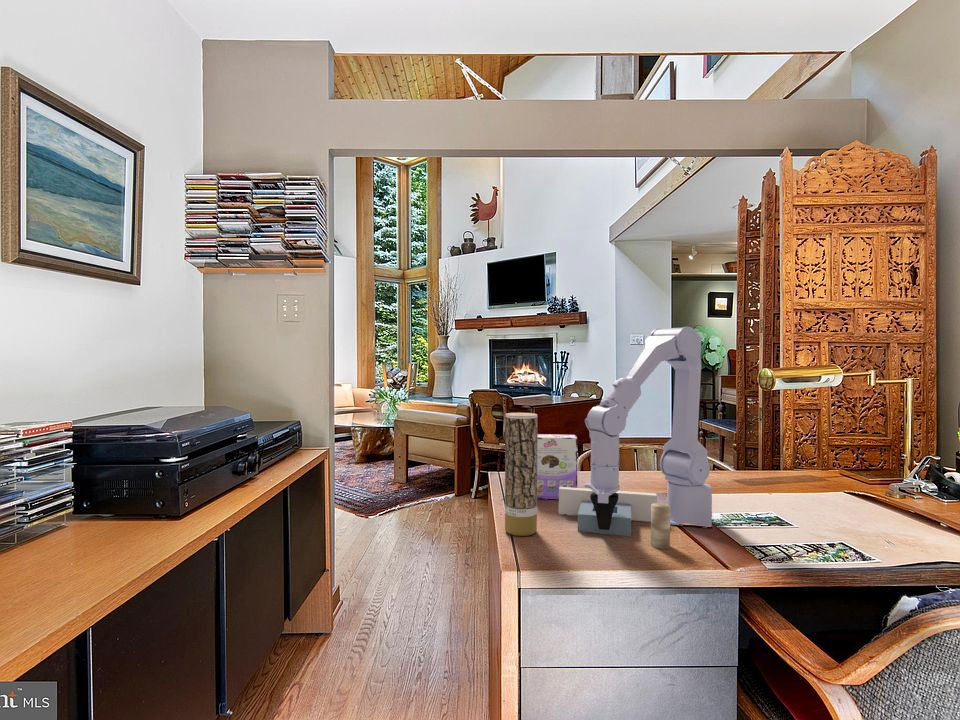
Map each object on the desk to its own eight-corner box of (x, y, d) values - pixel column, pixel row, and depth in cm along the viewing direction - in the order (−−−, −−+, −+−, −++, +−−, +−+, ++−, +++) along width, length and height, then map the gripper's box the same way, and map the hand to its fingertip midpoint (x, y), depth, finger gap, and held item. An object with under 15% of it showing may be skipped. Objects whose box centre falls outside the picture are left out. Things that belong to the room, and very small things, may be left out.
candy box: (575, 495, 145) (576, 434, 145) (577, 501, 139) (578, 437, 139) (524, 493, 147) (524, 432, 147) (523, 499, 141) (524, 436, 141)
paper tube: (535, 538, 111) (535, 416, 111) (502, 536, 112) (503, 415, 112) (538, 528, 118) (539, 413, 117) (507, 525, 119) (508, 412, 119)
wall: (656, 519, 124) (656, 493, 124) (656, 522, 122) (656, 495, 122) (559, 511, 130) (559, 486, 130) (558, 514, 128) (558, 488, 128)
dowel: (669, 543, 109) (669, 503, 108) (670, 549, 105) (671, 508, 105) (650, 541, 110) (650, 502, 109) (651, 547, 106) (651, 507, 106)
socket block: (630, 521, 124) (630, 504, 124) (631, 537, 113) (631, 518, 113) (581, 517, 126) (581, 500, 126) (577, 532, 116) (577, 514, 116)
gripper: (587, 456, 121) (587, 517, 121) (582, 469, 107) (581, 538, 107) (620, 458, 119) (619, 519, 119) (619, 472, 105) (618, 541, 105)
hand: (604, 528), depth 113 cm, fingers closed
